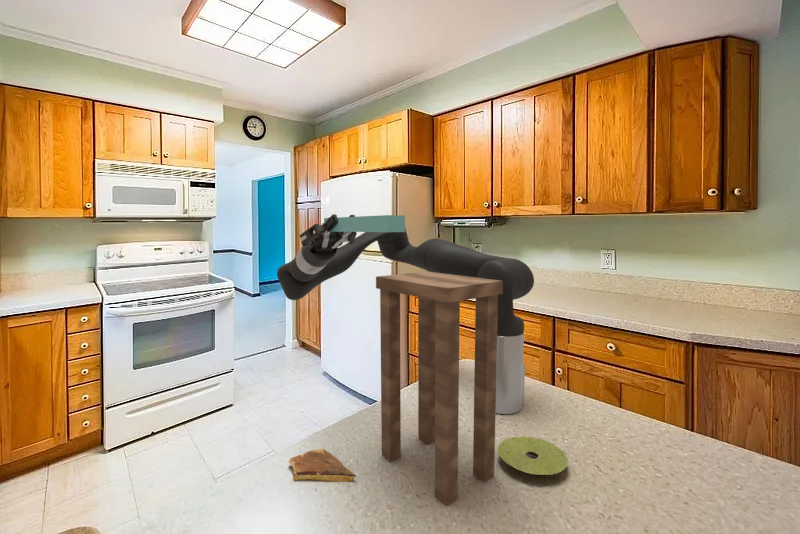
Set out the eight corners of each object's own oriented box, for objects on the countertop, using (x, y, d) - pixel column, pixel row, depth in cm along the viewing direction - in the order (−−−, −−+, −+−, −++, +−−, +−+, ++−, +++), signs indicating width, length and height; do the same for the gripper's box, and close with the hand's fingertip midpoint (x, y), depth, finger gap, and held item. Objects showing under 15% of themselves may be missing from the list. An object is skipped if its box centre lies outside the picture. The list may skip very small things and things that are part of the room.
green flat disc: (490, 446, 71) (490, 436, 71) (550, 445, 72) (551, 435, 72) (508, 486, 60) (509, 474, 60) (580, 485, 61) (580, 473, 60)
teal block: (339, 231, 90) (339, 218, 90) (404, 231, 71) (404, 215, 71) (324, 231, 88) (324, 218, 87) (387, 232, 69) (387, 215, 68)
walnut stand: (427, 433, 76) (428, 271, 73) (498, 476, 63) (502, 280, 60) (377, 455, 69) (375, 276, 66) (446, 509, 55) (447, 288, 52)
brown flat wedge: (356, 484, 62) (356, 473, 62) (312, 506, 57) (312, 494, 57) (323, 454, 70) (323, 444, 70) (282, 471, 65) (282, 460, 65)
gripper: (284, 241, 93) (310, 202, 81) (336, 240, 102) (367, 204, 89) (291, 269, 91) (319, 233, 78) (344, 265, 100) (377, 232, 87)
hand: (345, 218), depth 84 cm, fingers closed on teal block, 4 cm apart
